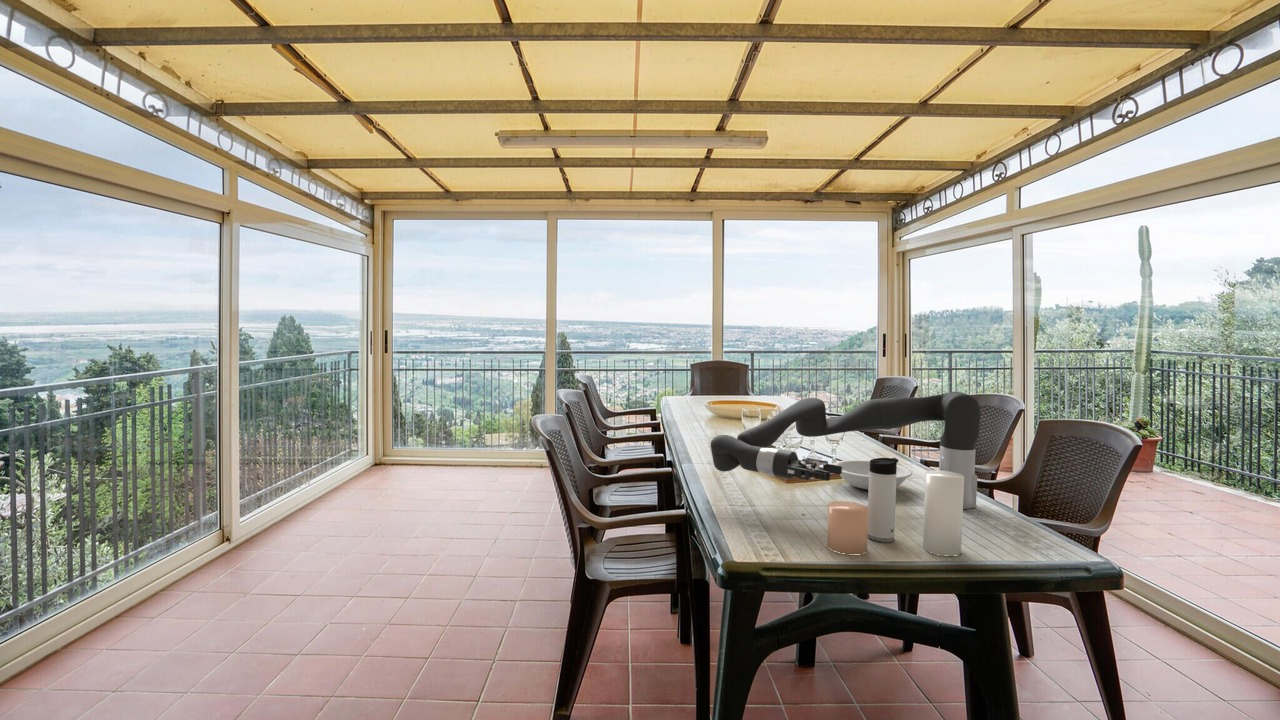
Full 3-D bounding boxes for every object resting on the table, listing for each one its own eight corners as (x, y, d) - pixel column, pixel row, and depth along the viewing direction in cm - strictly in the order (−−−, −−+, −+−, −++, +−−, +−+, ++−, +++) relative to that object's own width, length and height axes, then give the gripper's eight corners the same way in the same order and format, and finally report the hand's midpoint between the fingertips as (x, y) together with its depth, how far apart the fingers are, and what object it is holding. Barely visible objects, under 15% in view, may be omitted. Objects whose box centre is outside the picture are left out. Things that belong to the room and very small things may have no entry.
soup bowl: (917, 486, 194) (918, 466, 194) (903, 503, 174) (904, 481, 174) (843, 475, 208) (844, 456, 207) (822, 490, 188) (823, 469, 187)
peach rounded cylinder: (861, 542, 143) (863, 501, 142) (871, 556, 134) (873, 513, 133) (823, 540, 144) (824, 500, 143) (831, 554, 135) (832, 511, 134)
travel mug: (899, 543, 142) (903, 461, 141) (872, 542, 142) (875, 461, 141) (889, 533, 149) (892, 455, 147) (863, 533, 149) (865, 455, 147)
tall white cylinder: (952, 544, 142) (955, 471, 141) (966, 557, 134) (970, 479, 133) (917, 542, 143) (920, 469, 141) (930, 555, 135) (933, 478, 134)
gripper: (766, 453, 155) (827, 463, 145) (788, 445, 166) (845, 454, 156) (765, 481, 155) (825, 493, 146) (786, 471, 167) (844, 482, 157)
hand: (835, 473), depth 151 cm, fingers open, 8 cm apart
